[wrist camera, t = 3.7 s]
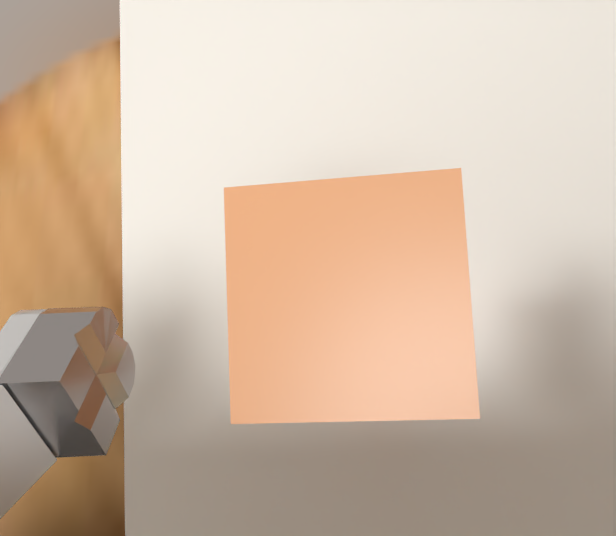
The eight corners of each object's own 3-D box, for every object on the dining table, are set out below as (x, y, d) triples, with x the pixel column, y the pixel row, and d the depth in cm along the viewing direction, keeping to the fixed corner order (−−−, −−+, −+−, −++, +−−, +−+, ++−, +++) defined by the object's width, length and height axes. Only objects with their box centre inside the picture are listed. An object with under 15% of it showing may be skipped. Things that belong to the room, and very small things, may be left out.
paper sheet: (134, -59, 17) (-144, -473, 8) (592, -128, 15) (869, -758, 6) (142, 530, 15) (-206, 814, 6) (663, 533, 13) (1193, 942, 5)
